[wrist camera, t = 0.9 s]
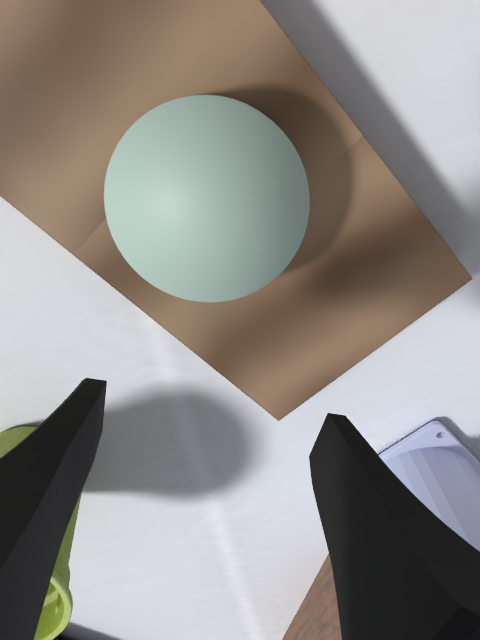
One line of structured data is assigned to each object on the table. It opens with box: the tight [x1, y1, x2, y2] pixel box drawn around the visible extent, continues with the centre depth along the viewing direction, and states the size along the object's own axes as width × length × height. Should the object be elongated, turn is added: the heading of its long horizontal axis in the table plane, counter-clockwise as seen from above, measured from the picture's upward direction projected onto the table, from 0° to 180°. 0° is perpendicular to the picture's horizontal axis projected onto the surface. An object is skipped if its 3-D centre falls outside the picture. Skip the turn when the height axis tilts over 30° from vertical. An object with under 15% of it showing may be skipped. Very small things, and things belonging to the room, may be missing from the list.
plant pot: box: [0, 427, 82, 640], centre depth 23 cm, size 9×9×9 cm
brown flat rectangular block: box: [0, 0, 473, 421], centre depth 18 cm, size 22×12×2 cm, turn 44°
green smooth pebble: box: [104, 95, 310, 302], centre depth 17 cm, size 8×8×2 cm
